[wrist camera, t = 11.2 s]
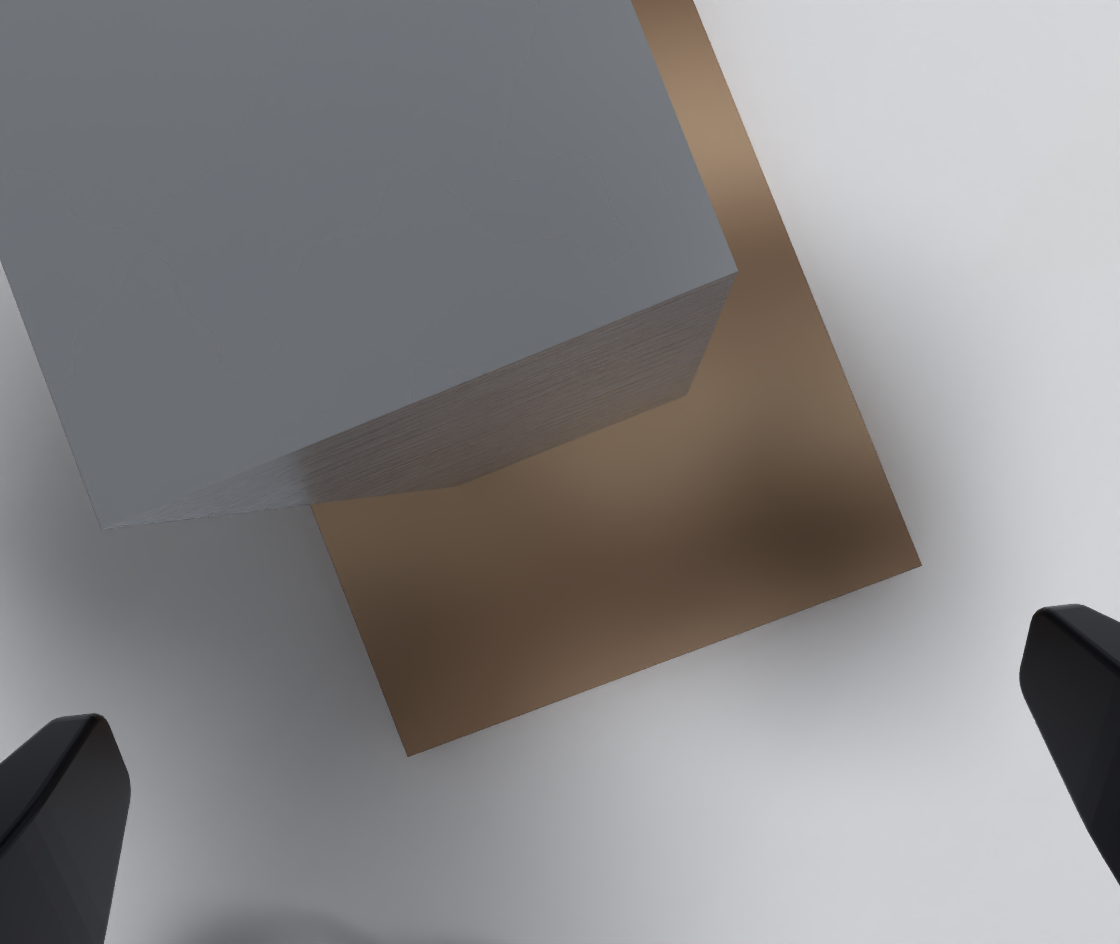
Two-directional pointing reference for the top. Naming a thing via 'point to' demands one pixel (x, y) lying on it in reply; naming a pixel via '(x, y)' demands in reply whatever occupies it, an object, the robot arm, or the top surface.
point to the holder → (636, 491)
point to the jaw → (344, 240)
